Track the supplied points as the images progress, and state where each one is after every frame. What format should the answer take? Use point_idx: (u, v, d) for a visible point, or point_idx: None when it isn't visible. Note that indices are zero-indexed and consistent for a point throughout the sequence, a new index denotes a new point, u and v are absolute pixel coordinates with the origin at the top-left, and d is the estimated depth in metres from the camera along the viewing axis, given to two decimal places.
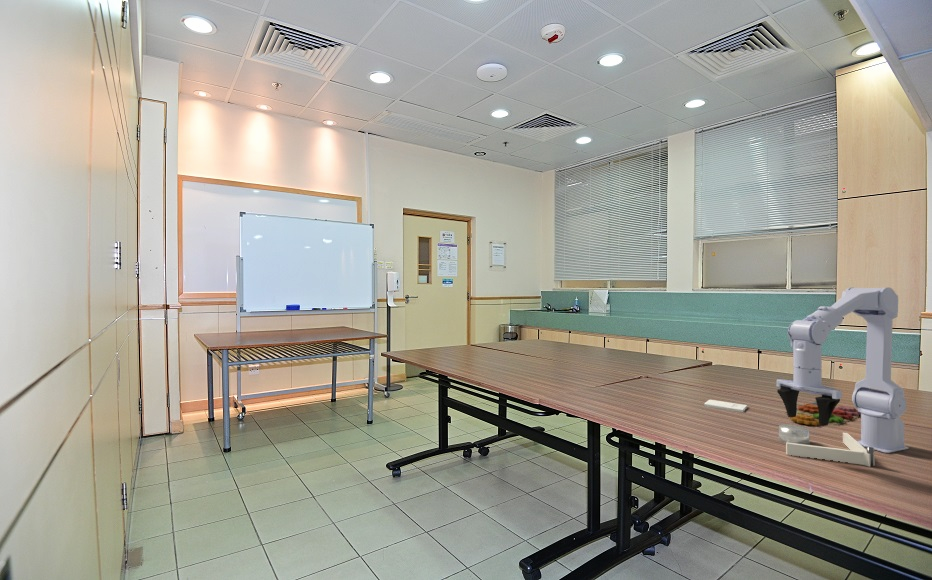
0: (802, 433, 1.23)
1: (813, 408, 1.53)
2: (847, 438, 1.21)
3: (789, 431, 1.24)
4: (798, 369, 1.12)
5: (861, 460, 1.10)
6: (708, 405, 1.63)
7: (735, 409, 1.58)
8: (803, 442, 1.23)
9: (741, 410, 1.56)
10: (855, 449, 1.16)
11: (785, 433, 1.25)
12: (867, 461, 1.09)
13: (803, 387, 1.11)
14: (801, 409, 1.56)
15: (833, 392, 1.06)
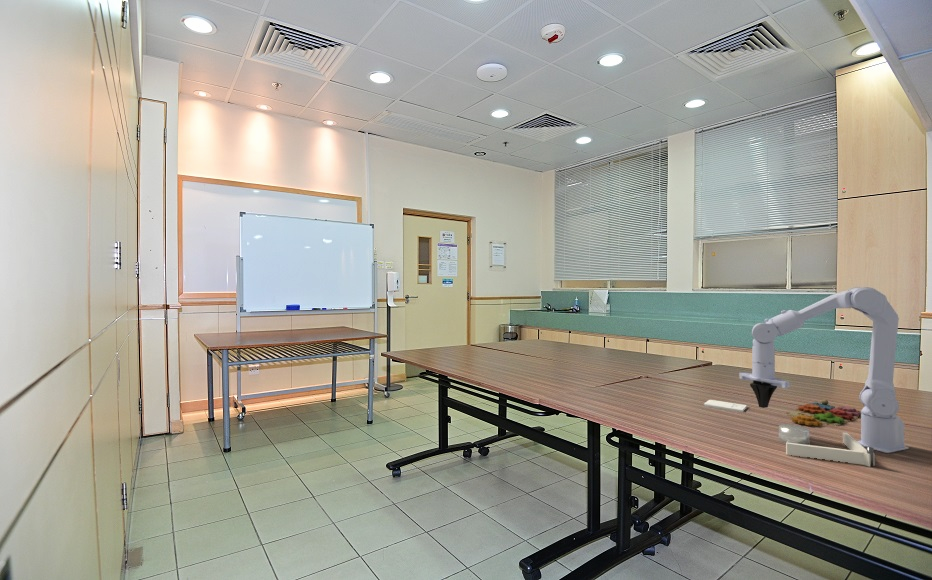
0: (802, 433, 1.23)
1: (813, 408, 1.53)
2: (847, 438, 1.21)
3: (789, 431, 1.24)
4: (755, 364, 1.34)
5: (861, 460, 1.10)
6: (708, 405, 1.63)
7: (735, 409, 1.58)
8: (803, 442, 1.23)
9: (741, 410, 1.57)
10: (855, 449, 1.16)
11: (785, 433, 1.25)
12: (867, 461, 1.09)
13: (759, 379, 1.33)
14: (801, 409, 1.55)
15: (782, 382, 1.28)
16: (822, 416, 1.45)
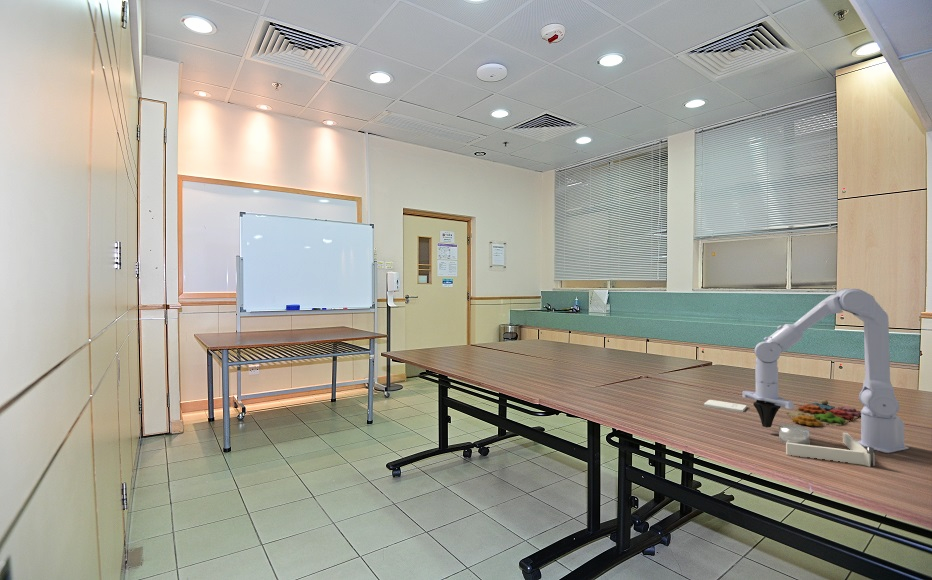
0: (802, 433, 1.23)
1: (813, 408, 1.53)
2: (847, 438, 1.21)
3: (789, 431, 1.24)
4: (759, 383, 1.33)
5: (861, 460, 1.10)
6: (708, 405, 1.63)
7: (735, 409, 1.58)
8: (803, 442, 1.23)
9: (741, 410, 1.57)
10: (855, 449, 1.16)
11: (785, 433, 1.25)
12: (867, 461, 1.09)
13: (762, 398, 1.32)
14: (801, 410, 1.55)
15: (786, 403, 1.27)
16: (823, 416, 1.45)
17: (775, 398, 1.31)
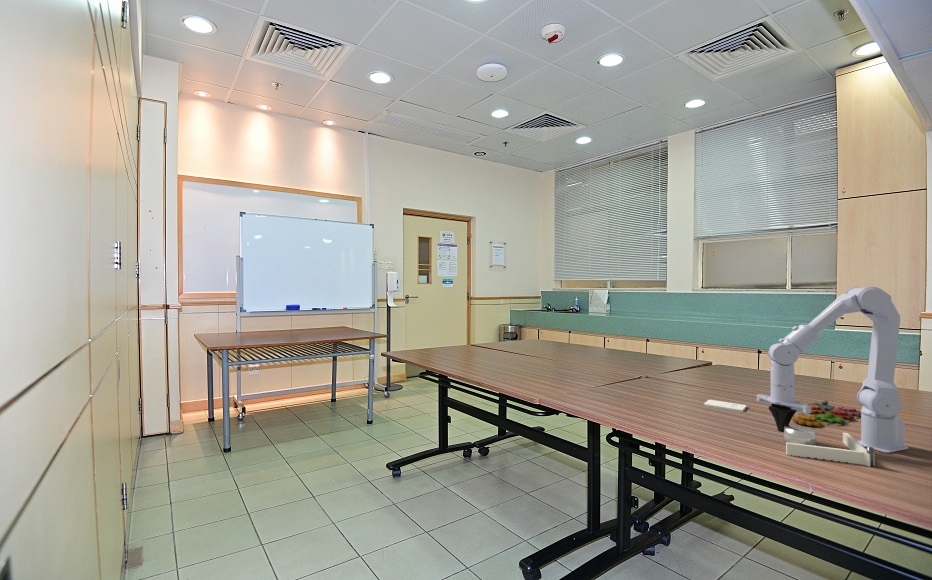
0: (807, 434, 1.22)
1: (814, 409, 1.52)
2: (847, 438, 1.21)
3: (794, 432, 1.23)
4: (774, 386, 1.29)
5: (861, 460, 1.10)
6: (708, 405, 1.63)
7: (735, 409, 1.58)
8: (808, 443, 1.22)
9: (741, 410, 1.57)
10: (855, 449, 1.16)
11: (790, 434, 1.24)
12: (867, 461, 1.09)
13: (778, 402, 1.28)
14: None
15: (803, 407, 1.23)
16: (823, 416, 1.44)
17: (791, 402, 1.27)
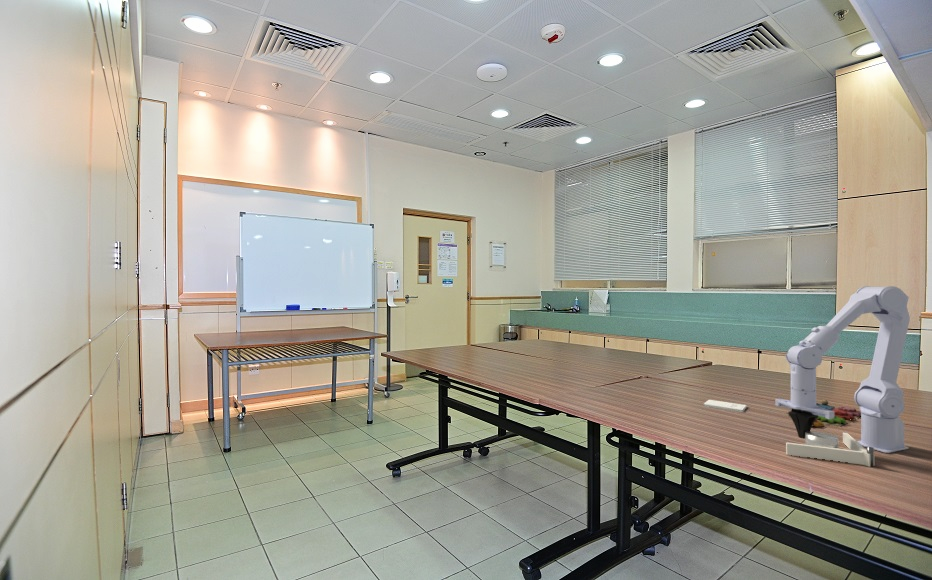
0: (831, 441, 1.16)
1: None
2: (847, 438, 1.21)
3: (817, 439, 1.18)
4: (795, 391, 1.23)
5: (861, 460, 1.10)
6: (708, 405, 1.63)
7: (735, 409, 1.58)
8: None
9: (741, 410, 1.57)
10: (855, 449, 1.16)
11: (812, 441, 1.18)
12: (867, 461, 1.09)
13: (799, 407, 1.22)
14: None
15: (826, 412, 1.18)
16: (823, 417, 1.44)
17: (813, 407, 1.21)
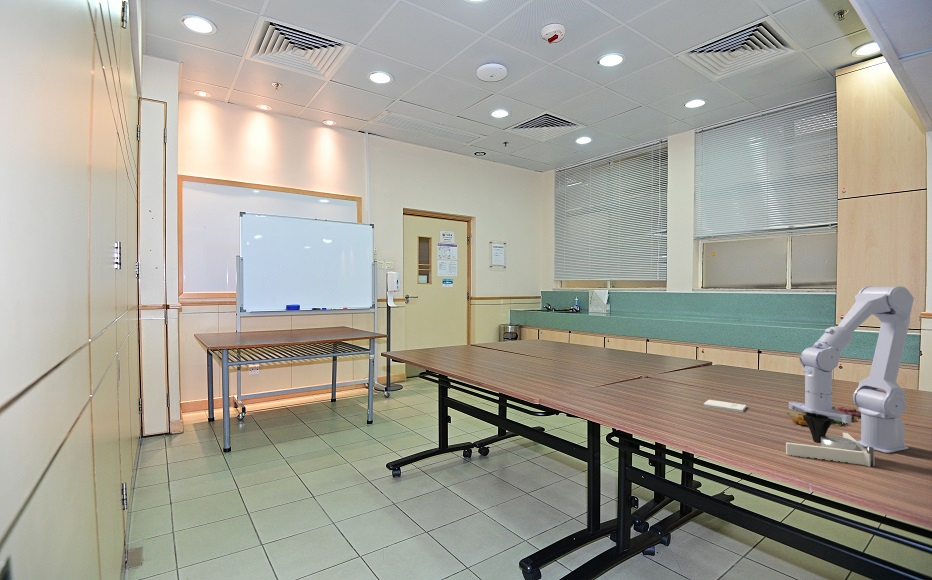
0: (848, 446, 1.12)
1: None
2: (847, 438, 1.21)
3: (833, 444, 1.14)
4: (810, 394, 1.20)
5: (861, 460, 1.10)
6: (708, 405, 1.64)
7: (735, 409, 1.58)
8: None
9: (741, 410, 1.57)
10: None
11: (829, 446, 1.15)
12: (867, 461, 1.09)
13: (815, 411, 1.18)
14: None
15: (843, 416, 1.14)
16: None
17: (829, 411, 1.17)
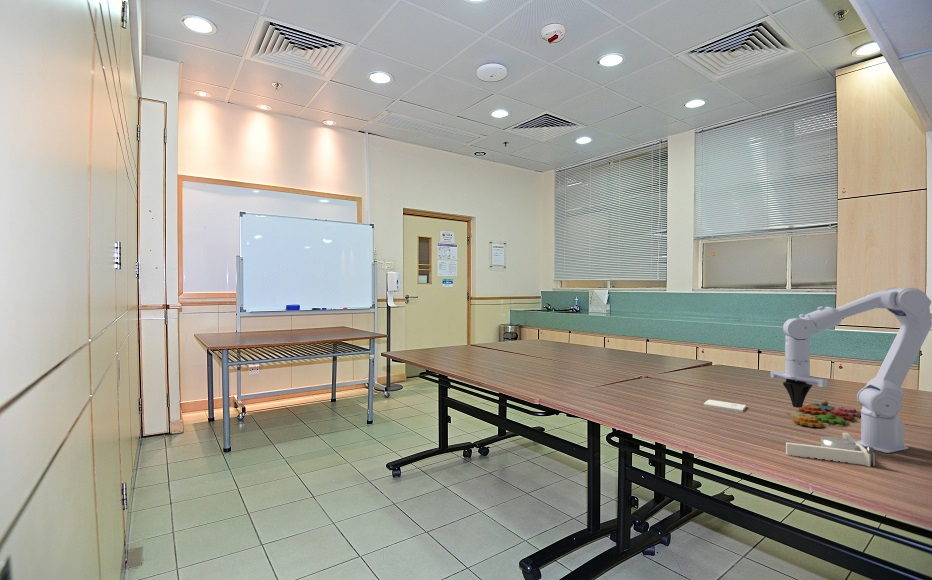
0: (848, 447, 1.12)
1: (814, 409, 1.52)
2: (847, 438, 1.21)
3: (833, 444, 1.14)
4: (789, 361, 1.28)
5: (861, 460, 1.10)
6: (707, 405, 1.64)
7: (734, 409, 1.58)
8: None
9: (740, 410, 1.57)
10: None
11: (829, 447, 1.15)
12: (867, 461, 1.09)
13: (793, 377, 1.26)
14: (802, 410, 1.54)
15: (819, 381, 1.22)
16: (824, 417, 1.44)
17: (807, 377, 1.25)
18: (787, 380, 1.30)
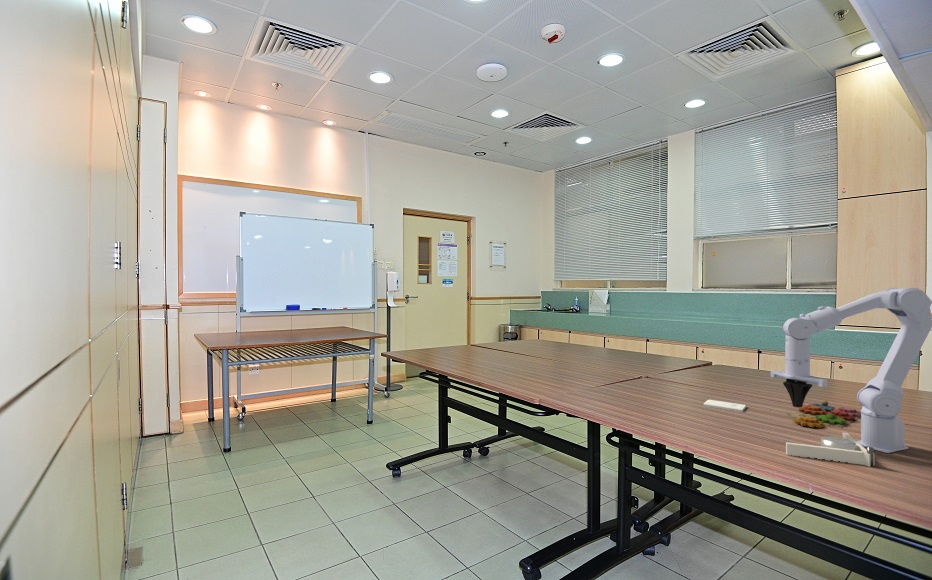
0: (848, 447, 1.12)
1: (814, 409, 1.51)
2: (847, 438, 1.21)
3: (833, 444, 1.14)
4: (789, 361, 1.28)
5: (861, 460, 1.10)
6: (707, 405, 1.64)
7: (734, 409, 1.58)
8: None
9: (740, 410, 1.57)
10: None
11: (829, 447, 1.15)
12: (867, 461, 1.09)
13: (794, 377, 1.26)
14: (802, 411, 1.54)
15: (819, 381, 1.22)
16: (824, 417, 1.43)
17: (807, 376, 1.25)
18: (787, 380, 1.30)
